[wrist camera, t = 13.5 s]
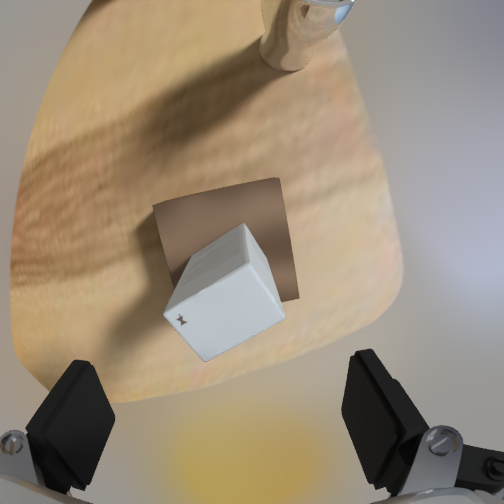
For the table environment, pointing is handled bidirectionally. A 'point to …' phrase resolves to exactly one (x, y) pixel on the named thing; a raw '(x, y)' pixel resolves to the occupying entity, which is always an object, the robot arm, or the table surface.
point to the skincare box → (224, 295)
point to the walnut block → (229, 227)
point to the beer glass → (298, 29)
